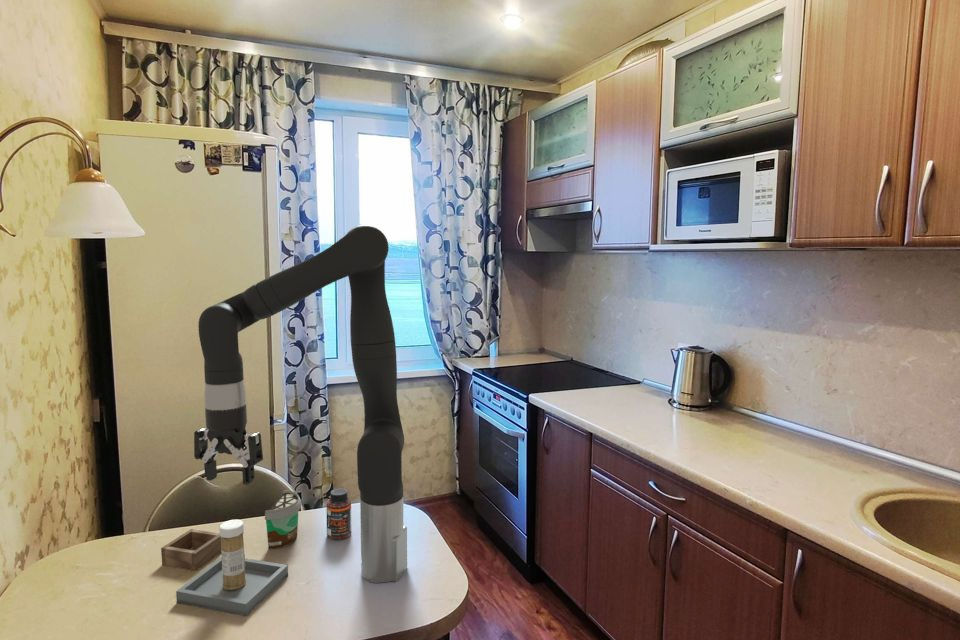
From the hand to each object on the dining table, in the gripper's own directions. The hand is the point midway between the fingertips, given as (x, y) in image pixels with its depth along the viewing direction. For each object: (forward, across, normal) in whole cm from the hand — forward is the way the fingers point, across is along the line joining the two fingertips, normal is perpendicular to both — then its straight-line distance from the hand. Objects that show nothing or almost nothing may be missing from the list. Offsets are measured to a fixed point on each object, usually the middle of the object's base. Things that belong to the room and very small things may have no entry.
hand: (229, 481), depth 114 cm
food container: (+24, +1, -21) cm, 32 cm away
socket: (+23, +17, -8) cm, 30 cm away
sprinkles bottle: (+23, 0, 0) cm, 23 cm away
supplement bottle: (+24, -10, -26) cm, 37 cm away
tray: (+23, 0, 0) cm, 23 cm away
